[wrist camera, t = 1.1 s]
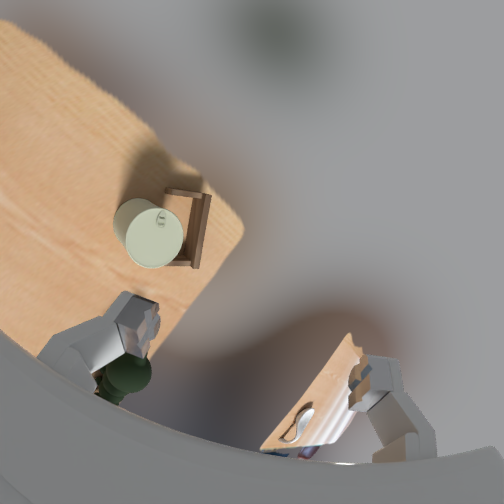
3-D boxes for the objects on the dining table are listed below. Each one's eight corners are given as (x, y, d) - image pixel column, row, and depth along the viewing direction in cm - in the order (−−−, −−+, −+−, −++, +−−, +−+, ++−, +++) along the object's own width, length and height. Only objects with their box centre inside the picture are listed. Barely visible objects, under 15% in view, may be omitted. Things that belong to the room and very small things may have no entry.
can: (166, 204, 49) (192, 215, 40) (153, 251, 50) (176, 273, 41) (120, 192, 43) (135, 201, 34) (108, 243, 44) (119, 265, 35)
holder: (155, 260, 51) (163, 268, 47) (165, 187, 48) (175, 190, 45) (188, 260, 56) (199, 268, 52) (199, 192, 53) (211, 195, 49)
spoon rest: (302, 404, 111) (313, 413, 106) (312, 404, 119) (323, 412, 114) (273, 440, 109) (283, 449, 103) (285, 438, 116) (295, 446, 111)
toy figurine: (114, 400, 55) (155, 328, 55) (137, 462, 40) (190, 392, 40) (80, 393, 48) (116, 314, 48) (96, 460, 34) (140, 384, 34)
